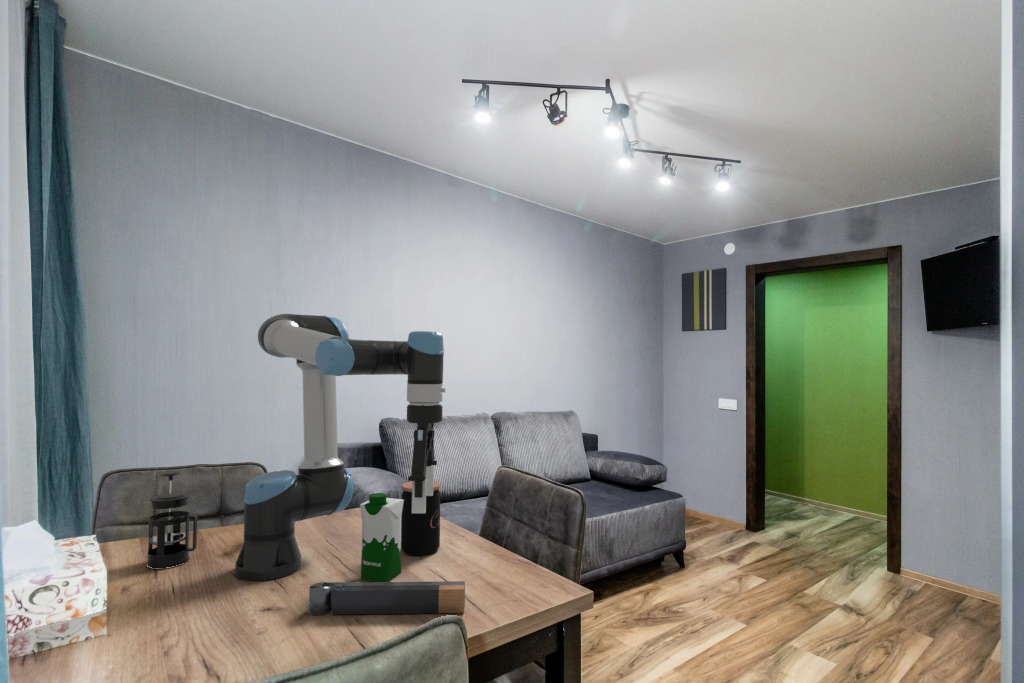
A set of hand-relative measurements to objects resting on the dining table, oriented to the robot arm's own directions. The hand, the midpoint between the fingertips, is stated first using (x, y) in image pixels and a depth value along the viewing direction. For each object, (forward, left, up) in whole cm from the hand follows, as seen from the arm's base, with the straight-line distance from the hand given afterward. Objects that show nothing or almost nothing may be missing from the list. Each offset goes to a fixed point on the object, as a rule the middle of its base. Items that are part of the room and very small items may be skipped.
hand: (423, 503), depth 115 cm
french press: (-68, +27, -22) cm, 77 cm away
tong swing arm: (-4, -2, -22) cm, 22 cm away
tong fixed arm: (-7, -1, -22) cm, 23 cm away
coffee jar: (-5, +35, -22) cm, 42 cm away
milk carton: (-12, +17, -22) cm, 31 cm away
